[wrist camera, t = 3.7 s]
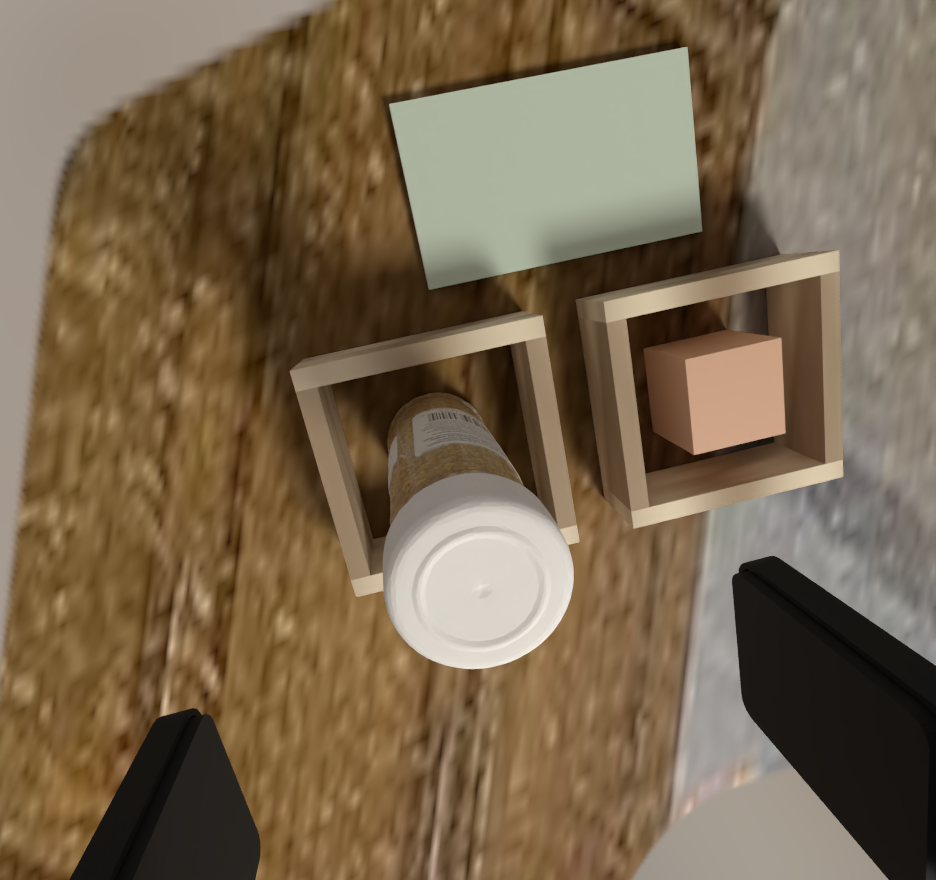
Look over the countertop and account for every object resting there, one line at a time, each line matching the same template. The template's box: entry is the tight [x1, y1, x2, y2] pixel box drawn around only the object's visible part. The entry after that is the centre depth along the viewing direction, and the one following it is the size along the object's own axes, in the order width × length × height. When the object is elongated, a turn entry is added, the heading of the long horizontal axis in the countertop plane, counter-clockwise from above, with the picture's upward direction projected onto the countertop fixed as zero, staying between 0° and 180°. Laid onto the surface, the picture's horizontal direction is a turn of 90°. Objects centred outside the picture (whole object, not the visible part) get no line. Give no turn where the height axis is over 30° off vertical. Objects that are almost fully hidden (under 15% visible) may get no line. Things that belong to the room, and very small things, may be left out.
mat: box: [389, 47, 702, 290], centre depth 23 cm, size 12×7×1 cm, turn 102°
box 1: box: [290, 311, 579, 597], centre depth 24 cm, size 10×10×4 cm
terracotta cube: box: [643, 330, 786, 455], centre depth 25 cm, size 4×4×4 cm
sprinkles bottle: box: [383, 393, 574, 669], centre depth 20 cm, size 5×5×13 cm
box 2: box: [576, 250, 843, 529], centre depth 25 cm, size 10×10×4 cm
